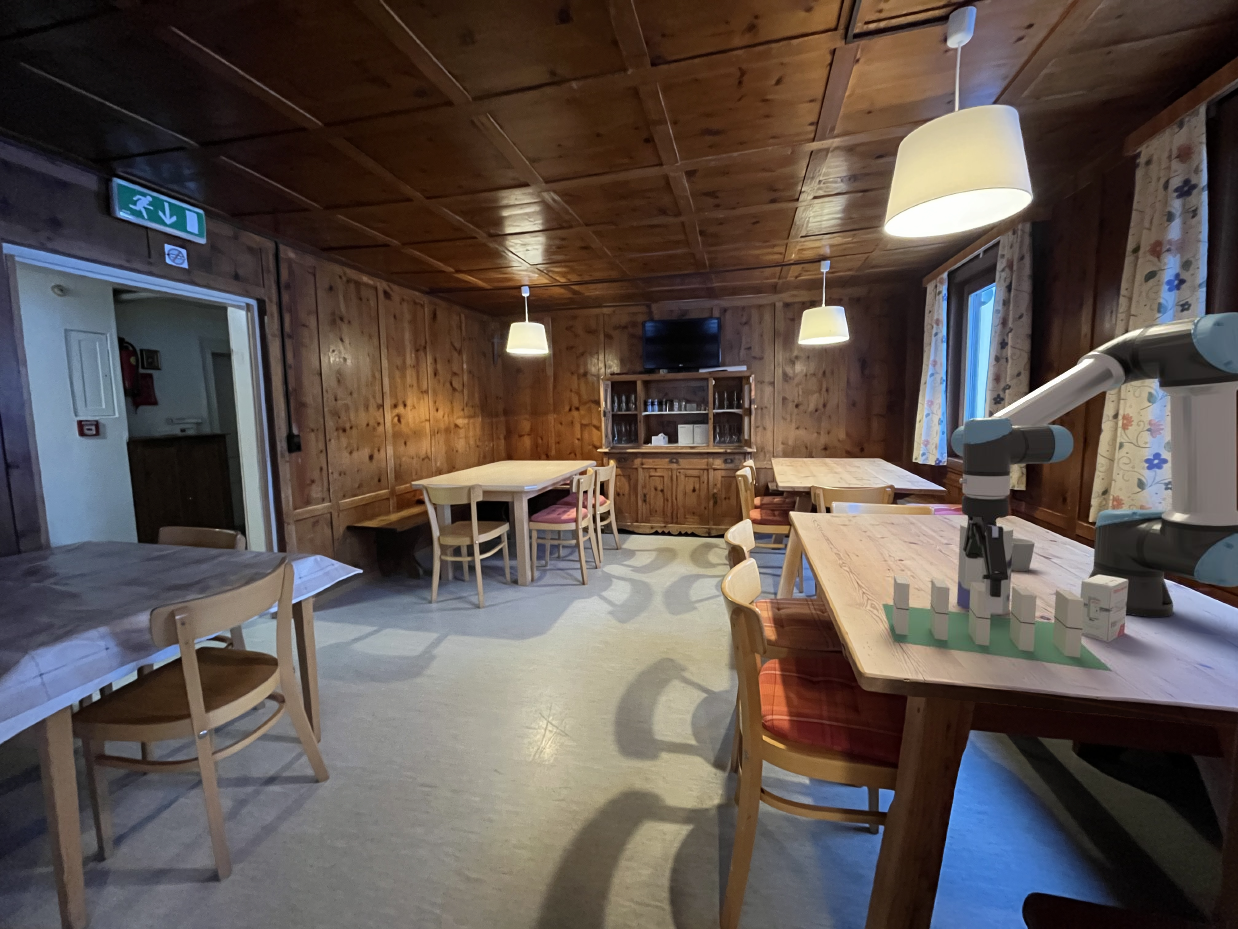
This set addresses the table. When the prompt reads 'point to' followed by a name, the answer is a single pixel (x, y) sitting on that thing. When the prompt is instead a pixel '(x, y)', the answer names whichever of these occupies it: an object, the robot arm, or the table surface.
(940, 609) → the domino
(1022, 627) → the domino
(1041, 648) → the felt mat
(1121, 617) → the ink box
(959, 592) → the container
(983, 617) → the domino
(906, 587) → the domino
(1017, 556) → the cup
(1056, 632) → the domino
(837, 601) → the table surface
